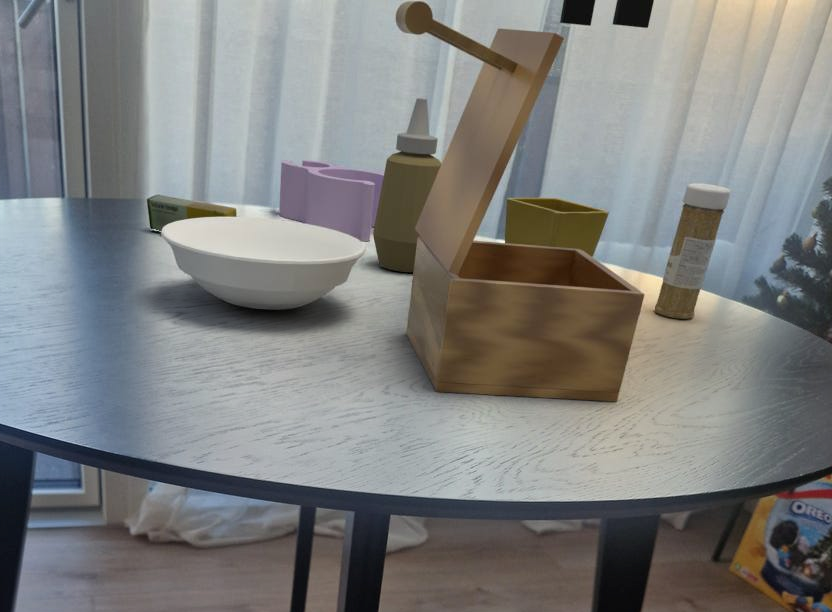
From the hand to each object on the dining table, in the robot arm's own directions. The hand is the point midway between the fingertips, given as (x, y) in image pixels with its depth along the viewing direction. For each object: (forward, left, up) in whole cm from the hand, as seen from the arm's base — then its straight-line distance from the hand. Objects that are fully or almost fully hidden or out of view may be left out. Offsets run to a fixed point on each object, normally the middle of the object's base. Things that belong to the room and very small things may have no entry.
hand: (600, 25), depth 79 cm
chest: (-7, +10, -26) cm, 29 cm away
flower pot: (+18, -16, -26) cm, 35 cm away
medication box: (+46, +18, -26) cm, 56 cm away
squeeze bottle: (+28, -2, -26) cm, 38 cm away
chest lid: (-5, +15, -9) cm, 18 cm away
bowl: (+16, +23, -26) cm, 38 cm away
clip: (+53, -7, -26) cm, 59 cm away
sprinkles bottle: (+3, -23, -26) cm, 35 cm away
